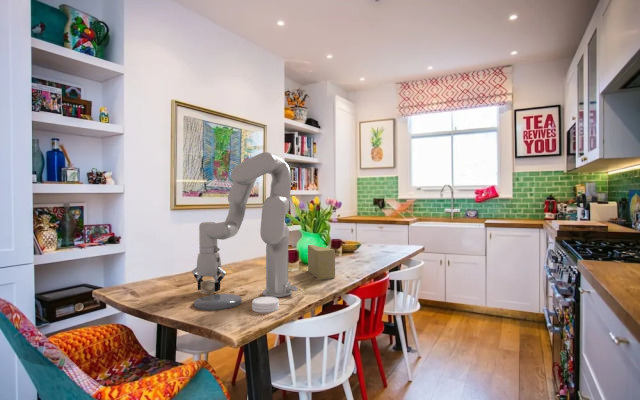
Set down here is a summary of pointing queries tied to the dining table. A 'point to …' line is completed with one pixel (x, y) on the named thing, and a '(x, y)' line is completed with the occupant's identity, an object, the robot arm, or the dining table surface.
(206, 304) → the cake plate
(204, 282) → the wooden cube
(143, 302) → the dining table surface
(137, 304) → the dining table surface
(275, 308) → the coaster
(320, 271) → the cheese
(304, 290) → the dining table surface
